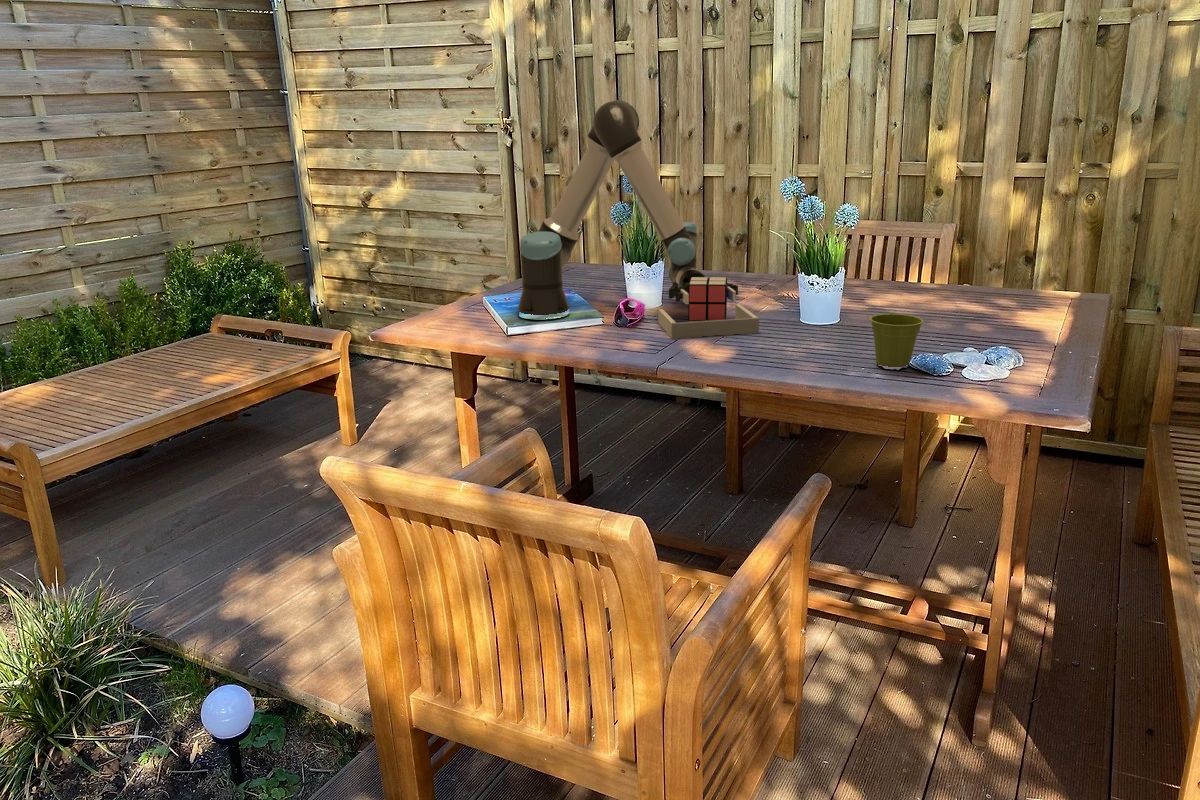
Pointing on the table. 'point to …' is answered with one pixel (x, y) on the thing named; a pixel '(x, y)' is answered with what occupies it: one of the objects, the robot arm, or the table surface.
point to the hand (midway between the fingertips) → (710, 297)
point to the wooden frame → (710, 325)
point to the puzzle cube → (707, 298)
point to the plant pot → (895, 338)
